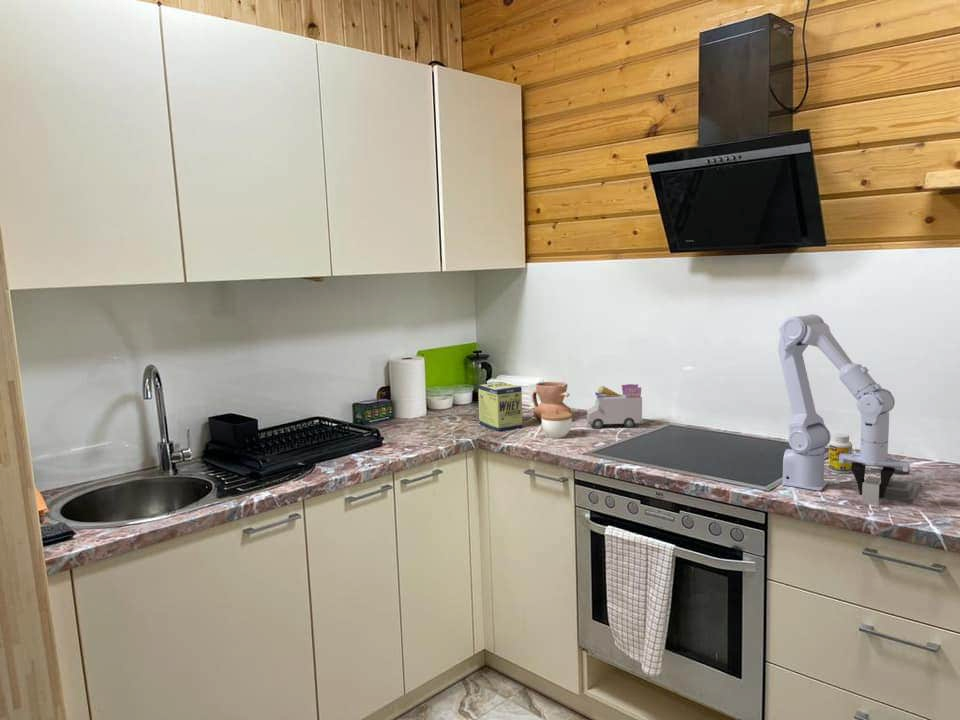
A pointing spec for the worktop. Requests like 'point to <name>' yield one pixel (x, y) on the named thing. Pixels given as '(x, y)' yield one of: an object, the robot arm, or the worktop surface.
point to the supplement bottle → (835, 449)
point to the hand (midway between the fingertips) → (872, 495)
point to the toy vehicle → (616, 407)
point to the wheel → (901, 472)
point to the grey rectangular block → (871, 491)
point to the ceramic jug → (550, 398)
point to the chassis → (902, 490)
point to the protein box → (500, 406)
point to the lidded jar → (556, 423)
